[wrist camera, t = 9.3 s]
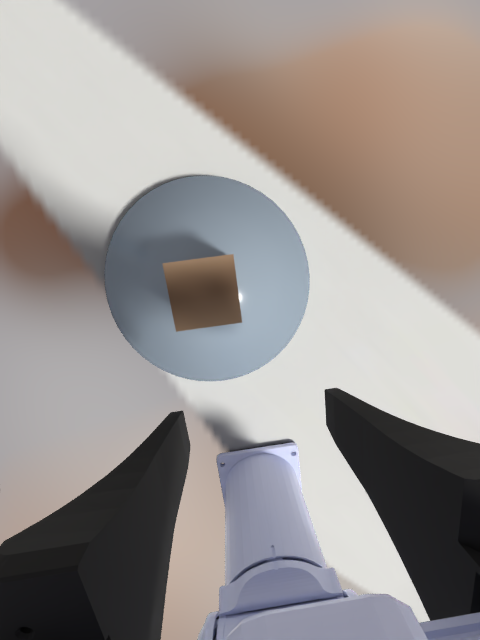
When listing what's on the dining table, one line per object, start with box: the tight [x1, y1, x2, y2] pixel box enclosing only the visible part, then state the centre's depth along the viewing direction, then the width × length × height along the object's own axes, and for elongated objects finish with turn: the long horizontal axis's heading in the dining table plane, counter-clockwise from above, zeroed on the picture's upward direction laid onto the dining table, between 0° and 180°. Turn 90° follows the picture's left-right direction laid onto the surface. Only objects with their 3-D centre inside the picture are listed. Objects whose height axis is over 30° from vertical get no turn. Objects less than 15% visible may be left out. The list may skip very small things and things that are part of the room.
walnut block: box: [162, 254, 242, 332], centre depth 16 cm, size 4×4×5 cm
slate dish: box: [104, 175, 309, 381], centre depth 19 cm, size 16×16×1 cm
